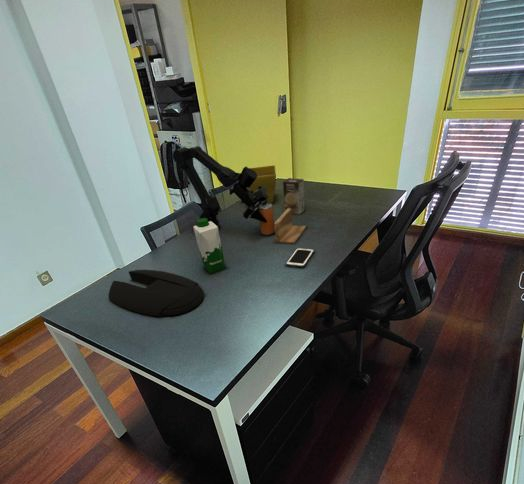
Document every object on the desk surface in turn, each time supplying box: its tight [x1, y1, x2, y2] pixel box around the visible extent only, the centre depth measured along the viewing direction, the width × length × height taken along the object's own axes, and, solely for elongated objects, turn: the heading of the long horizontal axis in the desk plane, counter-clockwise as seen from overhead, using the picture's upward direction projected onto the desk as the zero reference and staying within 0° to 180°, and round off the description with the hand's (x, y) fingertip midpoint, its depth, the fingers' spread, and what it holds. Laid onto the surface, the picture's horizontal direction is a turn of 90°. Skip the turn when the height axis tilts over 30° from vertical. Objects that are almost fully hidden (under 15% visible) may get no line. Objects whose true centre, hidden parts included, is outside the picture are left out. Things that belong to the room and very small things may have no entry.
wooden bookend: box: [274, 208, 307, 245], centre depth 152 cm, size 9×18×9 cm, turn 157°
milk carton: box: [192, 218, 226, 275], centre depth 132 cm, size 9×9×20 cm
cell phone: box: [285, 247, 315, 268], centre depth 136 cm, size 8×15×1 cm, turn 156°
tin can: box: [257, 203, 275, 236], centre depth 155 cm, size 7×7×13 cm
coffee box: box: [282, 177, 305, 215], centre depth 172 cm, size 9×6×16 cm
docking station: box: [108, 269, 205, 318], centre depth 125 cm, size 25×40×5 cm, turn 58°
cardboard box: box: [247, 164, 277, 205], centre depth 191 cm, size 19×19×17 cm
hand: (269, 219), depth 155 cm, fingers closed on tin can, 6 cm apart
